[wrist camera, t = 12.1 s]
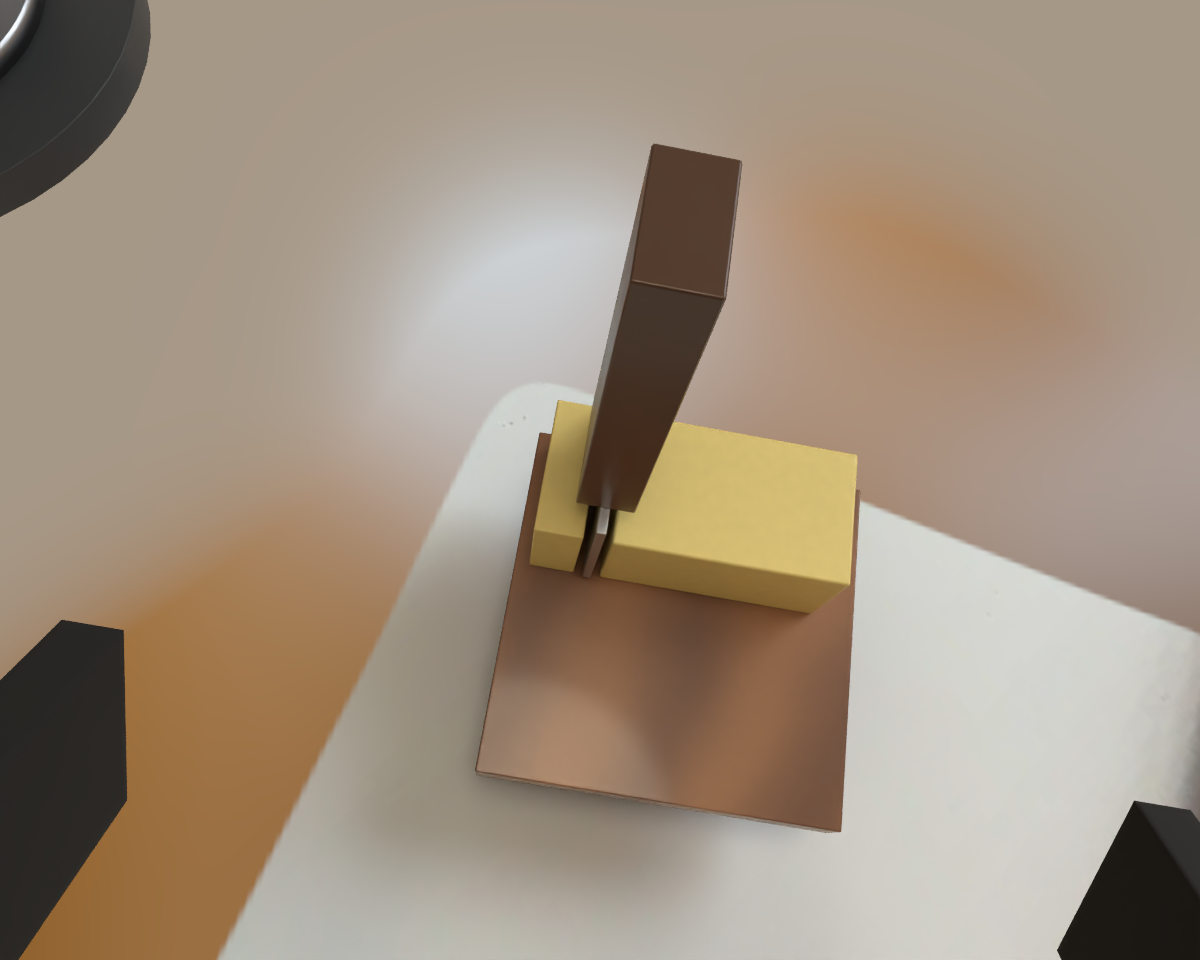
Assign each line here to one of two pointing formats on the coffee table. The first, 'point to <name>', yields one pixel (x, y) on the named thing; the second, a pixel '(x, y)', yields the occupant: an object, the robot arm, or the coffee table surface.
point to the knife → (657, 325)
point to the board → (669, 692)
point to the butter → (711, 516)
